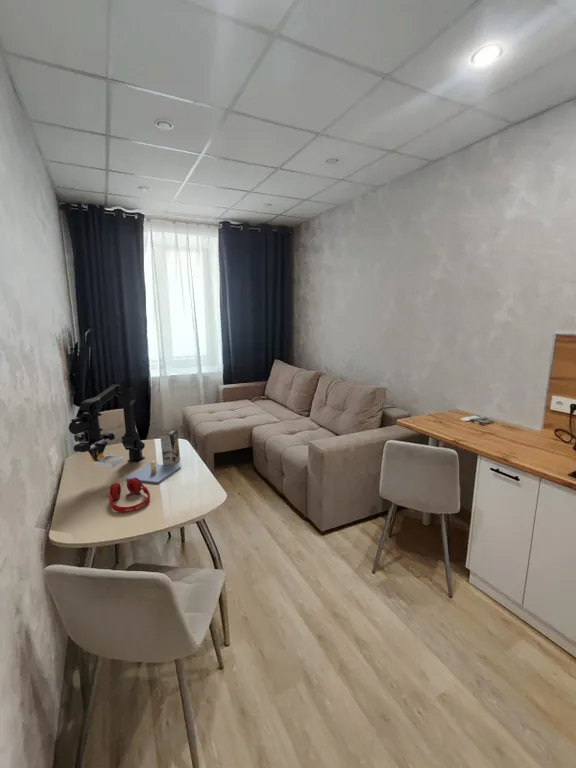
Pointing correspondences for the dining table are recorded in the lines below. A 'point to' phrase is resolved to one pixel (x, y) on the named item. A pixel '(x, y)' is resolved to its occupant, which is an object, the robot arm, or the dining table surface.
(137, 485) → the headphones
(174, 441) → the coffee box
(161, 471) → the keeper
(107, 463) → the grey frame with tab
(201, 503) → the dining table surface
